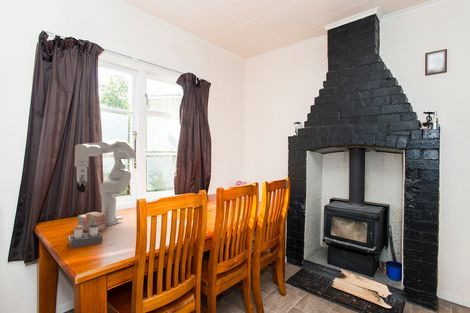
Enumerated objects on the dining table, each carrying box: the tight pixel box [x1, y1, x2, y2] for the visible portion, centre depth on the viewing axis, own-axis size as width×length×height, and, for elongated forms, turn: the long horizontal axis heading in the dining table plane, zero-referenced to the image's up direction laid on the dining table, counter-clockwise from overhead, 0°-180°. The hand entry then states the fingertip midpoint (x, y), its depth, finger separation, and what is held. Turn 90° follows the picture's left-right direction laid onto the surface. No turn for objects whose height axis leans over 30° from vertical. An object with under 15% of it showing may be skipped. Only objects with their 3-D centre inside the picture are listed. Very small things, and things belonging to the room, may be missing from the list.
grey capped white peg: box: [89, 223, 98, 237], centre depth 144 cm, size 4×4×10 cm
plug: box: [73, 224, 84, 239], centre depth 139 cm, size 4×4×10 cm
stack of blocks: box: [77, 211, 107, 233], centre depth 168 cm, size 21×6×12 cm, turn 62°
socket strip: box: [69, 231, 103, 249], centre depth 142 cm, size 15×9×6 cm, turn 127°
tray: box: [67, 232, 88, 242], centre depth 151 cm, size 11×9×2 cm
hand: (81, 191), depth 157 cm, fingers open, 9 cm apart
